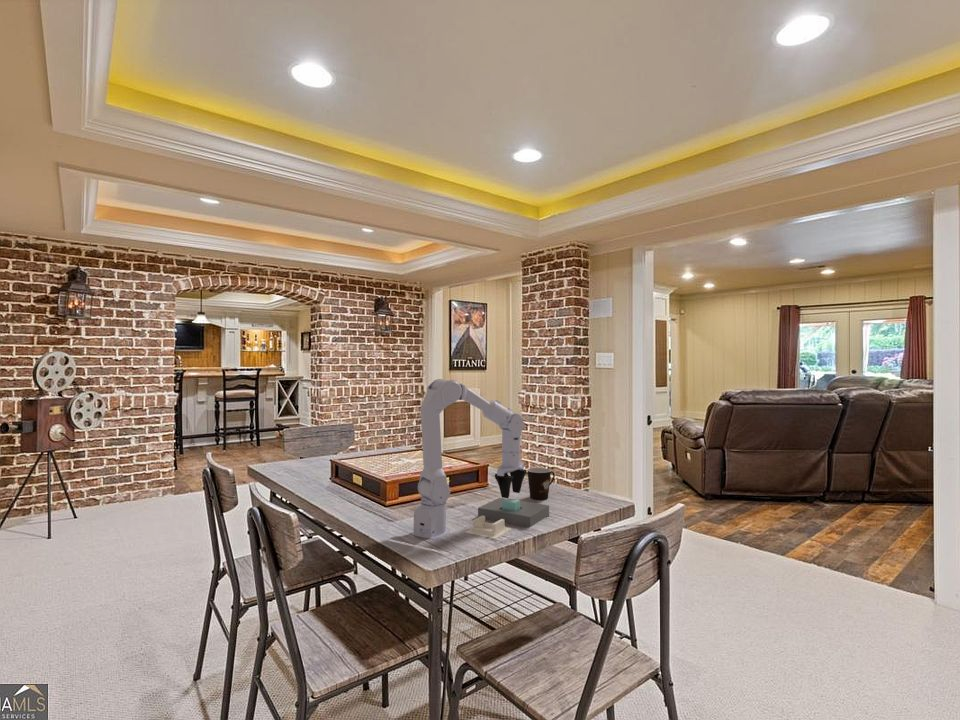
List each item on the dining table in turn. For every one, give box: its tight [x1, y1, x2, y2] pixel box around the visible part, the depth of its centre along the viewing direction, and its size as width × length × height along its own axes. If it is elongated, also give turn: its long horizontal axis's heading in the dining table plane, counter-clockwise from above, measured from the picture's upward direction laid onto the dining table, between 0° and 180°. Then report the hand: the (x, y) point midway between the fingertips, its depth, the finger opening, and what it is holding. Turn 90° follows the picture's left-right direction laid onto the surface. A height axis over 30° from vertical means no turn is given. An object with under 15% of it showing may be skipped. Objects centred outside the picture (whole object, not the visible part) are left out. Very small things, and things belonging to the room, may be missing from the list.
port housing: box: [477, 497, 550, 528], centre depth 164 cm, size 14×18×4 cm
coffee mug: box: [526, 467, 556, 501], centre depth 188 cm, size 12×9×10 cm
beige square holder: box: [464, 516, 512, 539], centre depth 150 cm, size 10×10×4 cm
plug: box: [502, 497, 521, 512], centre depth 162 cm, size 4×4×6 cm
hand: (510, 495), depth 162 cm, fingers open, 7 cm apart
